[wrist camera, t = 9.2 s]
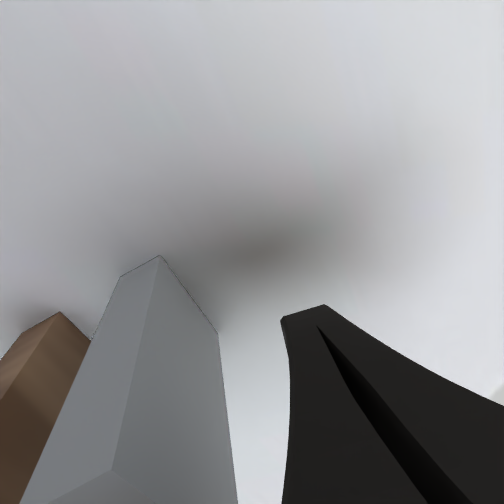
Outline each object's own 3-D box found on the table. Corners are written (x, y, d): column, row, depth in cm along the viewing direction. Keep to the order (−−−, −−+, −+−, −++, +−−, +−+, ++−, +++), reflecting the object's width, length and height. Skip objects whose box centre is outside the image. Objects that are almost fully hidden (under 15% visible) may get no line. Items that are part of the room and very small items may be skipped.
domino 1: (97, 399, 16) (-1, 696, 8) (21, 333, 14) (-226, 649, 6) (131, 380, 16) (67, 661, 8) (60, 311, 14) (-134, 600, 6)
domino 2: (182, 352, 16) (173, 607, 8) (119, 277, 13) (11, 521, 5) (217, 333, 16) (246, 571, 7) (160, 254, 13) (111, 469, 5)
